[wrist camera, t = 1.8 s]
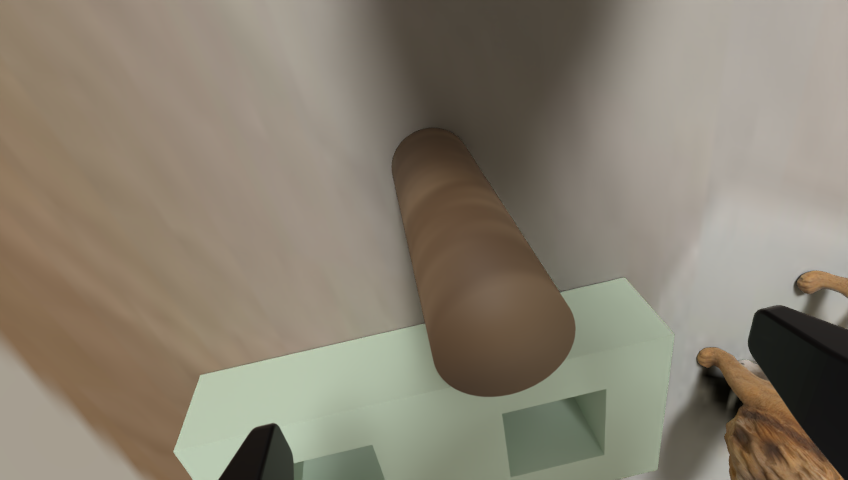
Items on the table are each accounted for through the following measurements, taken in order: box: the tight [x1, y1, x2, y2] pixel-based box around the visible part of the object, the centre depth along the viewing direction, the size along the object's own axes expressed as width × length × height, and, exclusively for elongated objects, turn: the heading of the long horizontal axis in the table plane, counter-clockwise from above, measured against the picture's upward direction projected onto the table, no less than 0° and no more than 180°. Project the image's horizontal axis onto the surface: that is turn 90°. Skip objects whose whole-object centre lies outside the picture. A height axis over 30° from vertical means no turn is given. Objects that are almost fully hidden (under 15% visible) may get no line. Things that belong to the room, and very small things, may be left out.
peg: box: [392, 128, 576, 397], centre depth 14 cm, size 3×3×10 cm
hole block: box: [174, 277, 675, 480], centre depth 23 cm, size 20×9×4 cm, turn 100°
